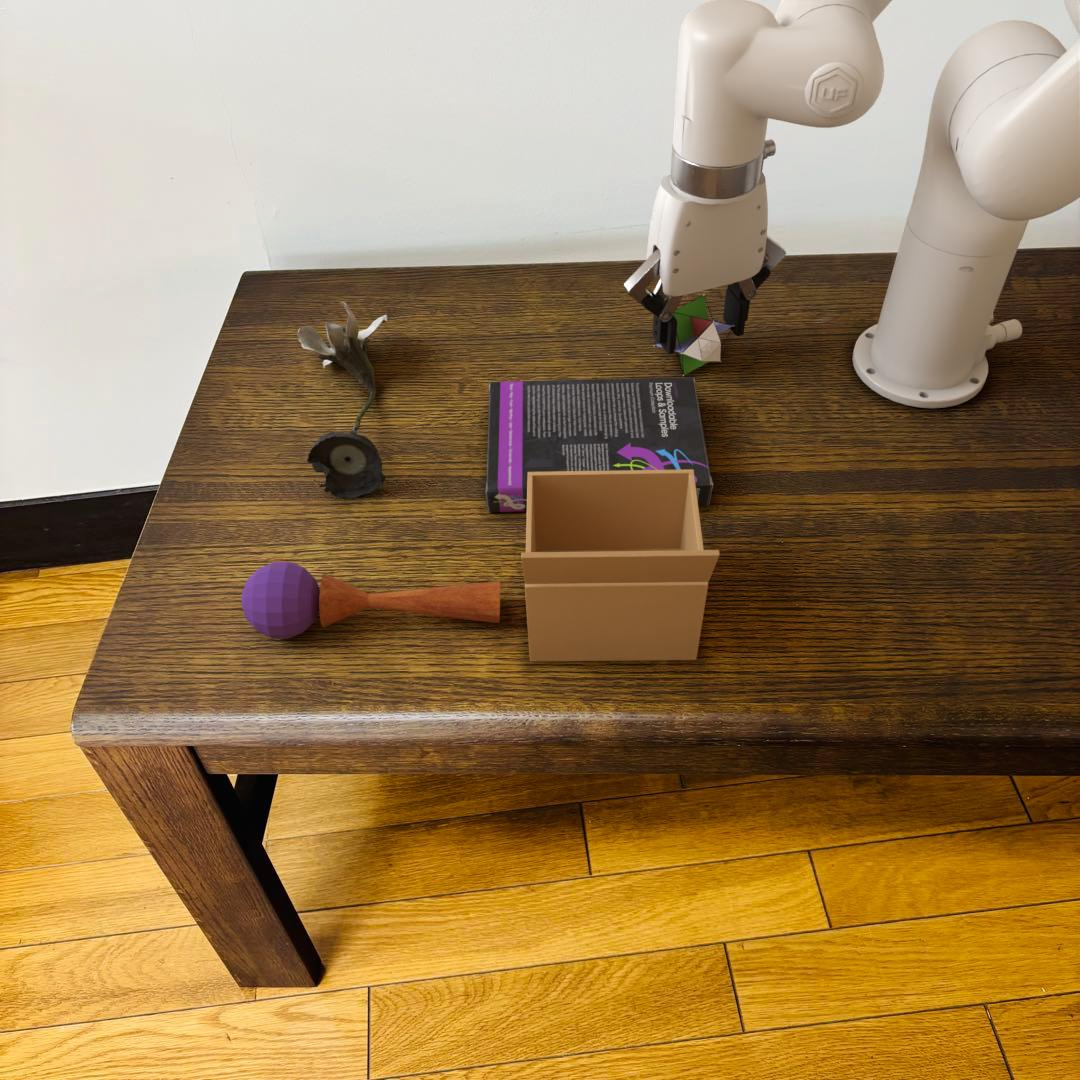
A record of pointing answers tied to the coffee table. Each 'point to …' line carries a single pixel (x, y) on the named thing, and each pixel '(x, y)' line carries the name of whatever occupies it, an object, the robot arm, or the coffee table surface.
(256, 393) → the coffee table surface
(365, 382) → the artificial flower
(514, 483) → the box
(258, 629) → the kendama
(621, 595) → the carton
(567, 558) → the flap
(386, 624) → the coffee table surface
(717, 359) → the geometric puzzle
